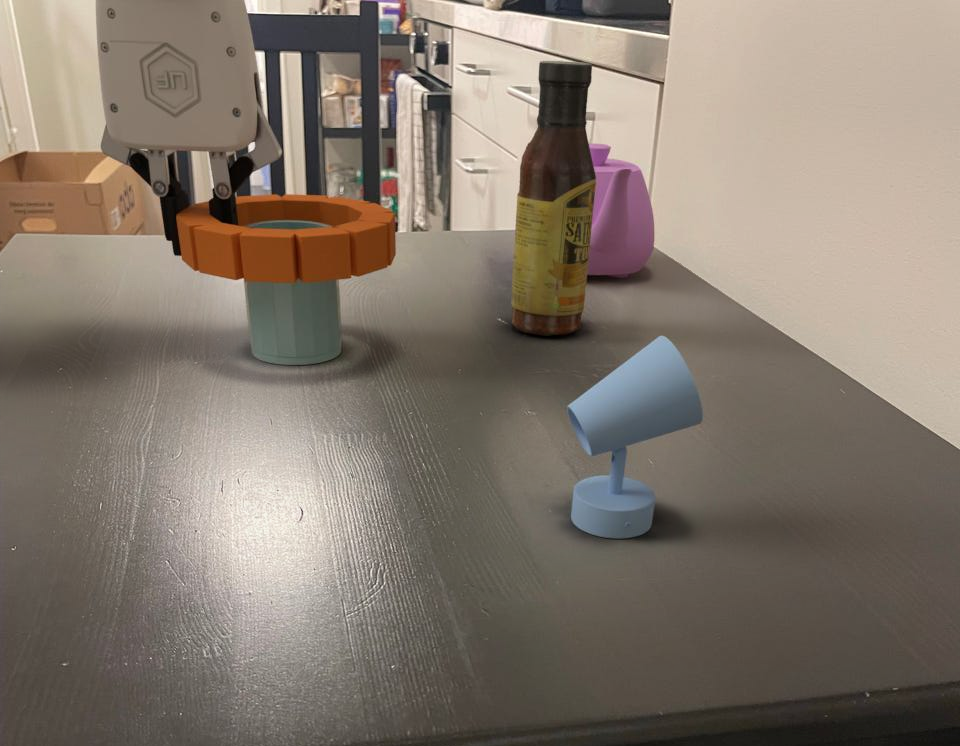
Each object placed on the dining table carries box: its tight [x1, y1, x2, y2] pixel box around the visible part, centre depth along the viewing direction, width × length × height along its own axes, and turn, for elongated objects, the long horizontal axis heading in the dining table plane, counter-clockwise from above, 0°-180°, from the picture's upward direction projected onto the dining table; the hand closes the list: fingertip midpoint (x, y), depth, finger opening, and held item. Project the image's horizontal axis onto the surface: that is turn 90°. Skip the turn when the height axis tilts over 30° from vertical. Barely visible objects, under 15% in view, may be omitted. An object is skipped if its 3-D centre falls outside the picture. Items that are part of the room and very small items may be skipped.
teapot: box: [587, 143, 655, 279], centre depth 98 cm, size 20×13×12 cm, turn 10°
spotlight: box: [566, 335, 704, 539], centre depth 51 cm, size 5×10×7 cm
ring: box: [176, 193, 397, 283], centre depth 71 cm, size 15×15×3 cm
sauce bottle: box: [510, 60, 596, 337], centre depth 78 cm, size 7×6×20 cm
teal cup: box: [243, 220, 343, 366], centre depth 74 cm, size 7×7×9 cm
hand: (204, 250), depth 72 cm, fingers closed on ring, 2 cm apart
